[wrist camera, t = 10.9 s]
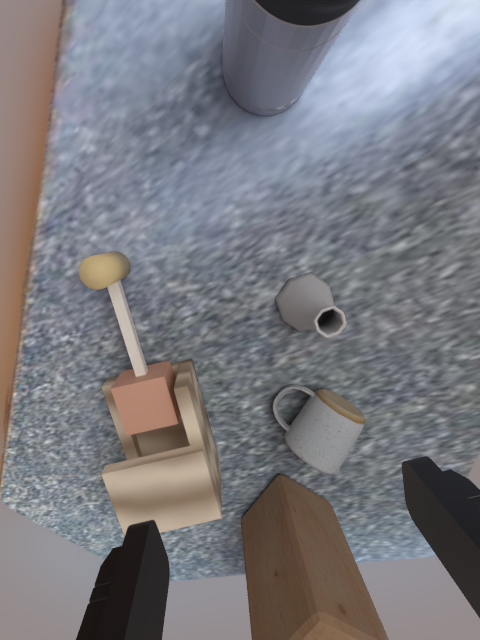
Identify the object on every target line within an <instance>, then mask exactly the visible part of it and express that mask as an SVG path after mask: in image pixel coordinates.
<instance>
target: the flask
mask: <svg viewBox="0 0 480 640" xmlns="http://www.w3.org/2000/svg"><path fill="white" fill-rule="evenodd" d="M276 302H277V306H278V309H279V312H280V315H281V318H282V320H283V321H284V322H286V323H287V324H289V325H290V326H292V327H293V328H295V329H296V330H298V331H299V332H303V331H306V330H311V329H316V332H318V333H319V334H321V335H322V336H324V337H325V338H327V339H328V338H330V337H333V336H336V335H339V334H340V333H341V331H342V330H343V329H344V327H345V326H346V325H347V323H346V319H345V315H344V312H343V311H341V310H340V309H338V308H337V307H335V304H334V301H333V297H332V293H331V290H330V286H329V284H327V283H326V282H324V281H323V280H322V279H320V278H319V277H317V276H316V275H315V274H313V273H312V272H310V273H307V274H304V275H301V276H298V277H295V278H293V279H290V280H288V282H287V283H286V285H285V286H284V287H283V289H282V290H281V292H280V293H279V295H278V296H277V297H276Z"/></svg>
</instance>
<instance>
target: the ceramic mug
mask: <svg viewBox="0 0 480 640" xmlns="http://www.w3.org/2000/svg"><path fill="white" fill-rule="evenodd" d="M291 390H301V391H303V392H305V393H307V394H309V395H310V398H309V399H308V400H307V402H306V403H305V405H304V406H303V408H302V410H301V411H300V412H299V414H298V415H297V416H296V418H295V419H294V421H293V422H292V424H291V425H288V424H287V423H286V422H285V421H284V420H283V419H282V418H281V416H280V415H279V412H278V410H277V405H278V403H279V401H280V400H281V398H282V397H283V396H284V395H285V394H288V393H289V391H291ZM273 412H274V415H275V418H276V419H277V421H278V422H279V424H280V425H281V426H282V427H283V428H284V429H285V430H286V433H285V441H286V443H287V444H288V446H289V447H290V449H291V450H292V451H293V452H294V453H295V454H296V455H297V456H298V457H299V458H300V459H302V460H303V461H304V462H306V463H307V464H308V465H310V466H311V467H313V468H315V469H317V470H319V471H321V472H324V473H327V474H335V473H337V472H338V470H339V468H340V466H341V465H342V463H343V461H344V460H345V458H346V456H347V455H348V453H349V451H350V450H351V448H352V446H353V444H354V443H355V441H356V440H357V438H358V436H359V435H360V433H361V431H362V428H363V426H364V423H365V418H364V415H363V414H362V412H361V411H360V410H359V409H358V408H357V407H355V406H354V405H353V404H351V403H350V402H349V401H347V400H346V399H344V398H343V397H341V396H339V395H338V394H336V393H334V392H332V391H329V390H327V389H318V390H316V391H315V392H313V391H311V390H310V389H308V388H306V387H304V386H301V385H289V386H287V387H285V388H283V389H282V390H281V391H280V392H279V393H278V394H277V396H276V397H275V399H274V401H273Z"/></svg>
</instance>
